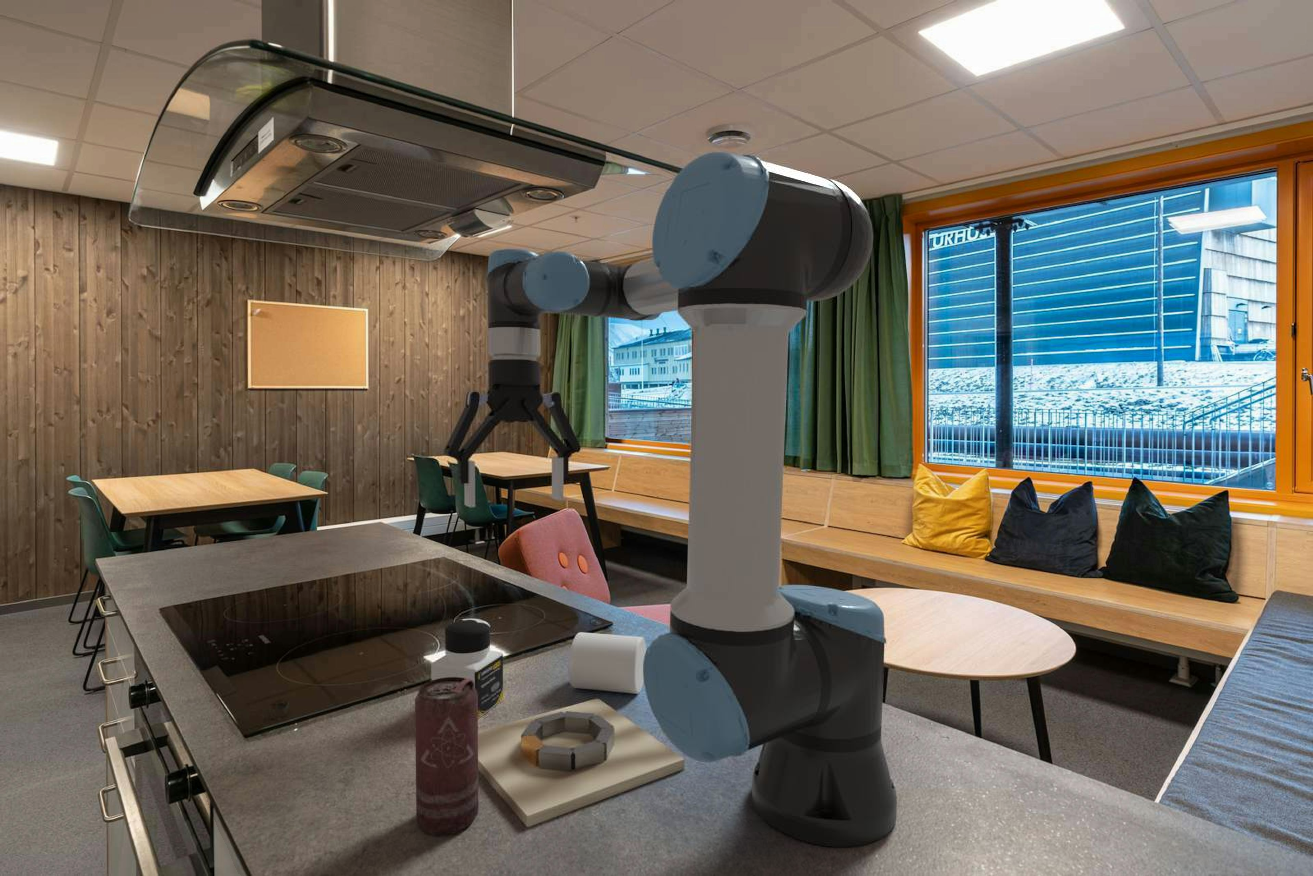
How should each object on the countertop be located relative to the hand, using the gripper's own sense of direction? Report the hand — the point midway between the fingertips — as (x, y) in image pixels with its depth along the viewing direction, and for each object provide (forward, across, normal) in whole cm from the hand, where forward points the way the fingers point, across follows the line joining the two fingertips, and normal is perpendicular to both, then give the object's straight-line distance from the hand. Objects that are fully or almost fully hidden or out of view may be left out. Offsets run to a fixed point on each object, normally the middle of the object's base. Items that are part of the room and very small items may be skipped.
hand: (515, 502), depth 106 cm
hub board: (+28, +2, +24) cm, 37 cm away
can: (+28, +18, +29) cm, 44 cm away
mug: (+28, -13, +7) cm, 31 cm away
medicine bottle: (+28, +9, +4) cm, 29 cm away
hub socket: (+26, +2, +24) cm, 36 cm away
